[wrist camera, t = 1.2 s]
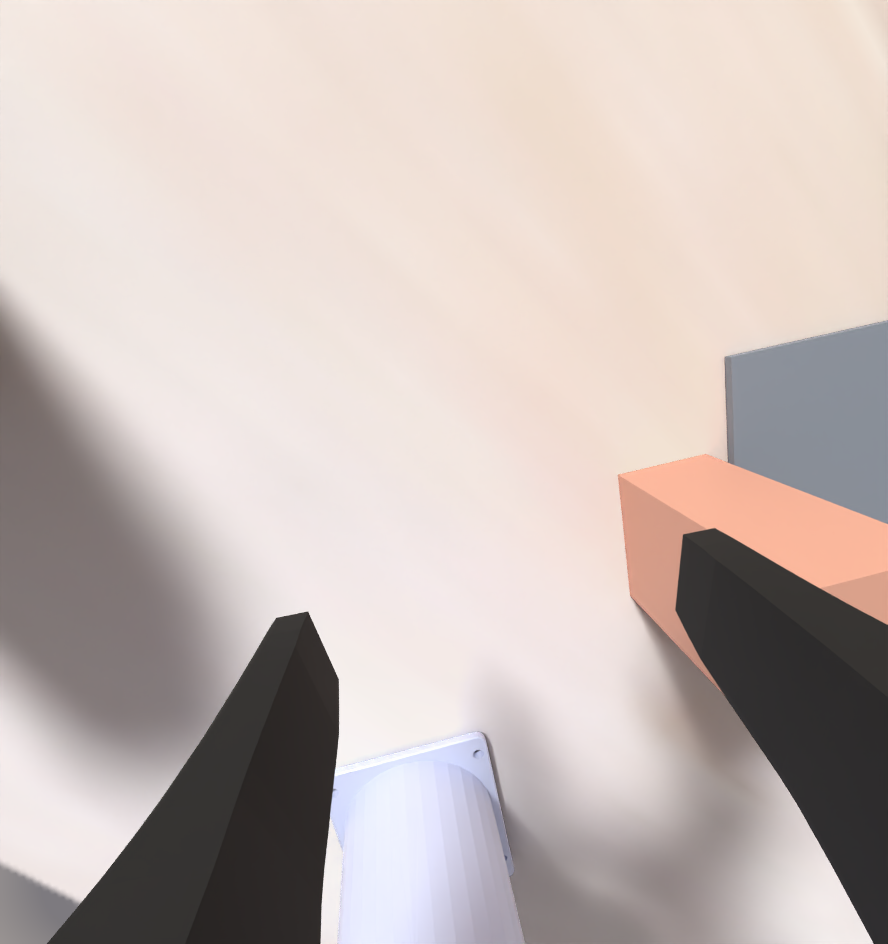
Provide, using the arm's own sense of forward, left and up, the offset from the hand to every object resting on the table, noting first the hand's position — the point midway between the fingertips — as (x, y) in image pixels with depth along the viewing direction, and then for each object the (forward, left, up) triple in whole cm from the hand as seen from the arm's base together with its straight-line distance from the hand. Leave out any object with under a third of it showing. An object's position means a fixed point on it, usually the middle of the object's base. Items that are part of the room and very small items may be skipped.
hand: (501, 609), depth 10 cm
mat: (-5, -18, -11) cm, 22 cm away
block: (-5, -9, -11) cm, 16 cm away
